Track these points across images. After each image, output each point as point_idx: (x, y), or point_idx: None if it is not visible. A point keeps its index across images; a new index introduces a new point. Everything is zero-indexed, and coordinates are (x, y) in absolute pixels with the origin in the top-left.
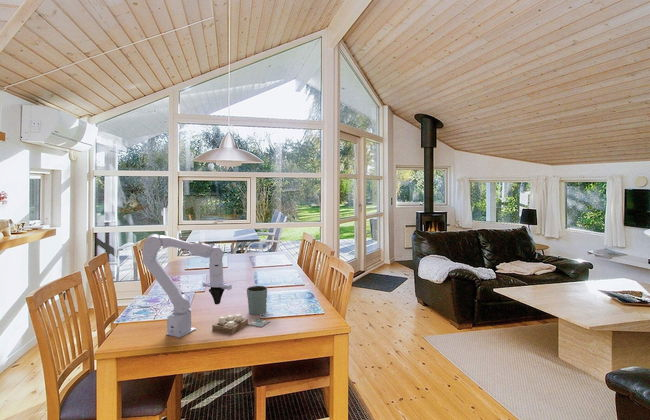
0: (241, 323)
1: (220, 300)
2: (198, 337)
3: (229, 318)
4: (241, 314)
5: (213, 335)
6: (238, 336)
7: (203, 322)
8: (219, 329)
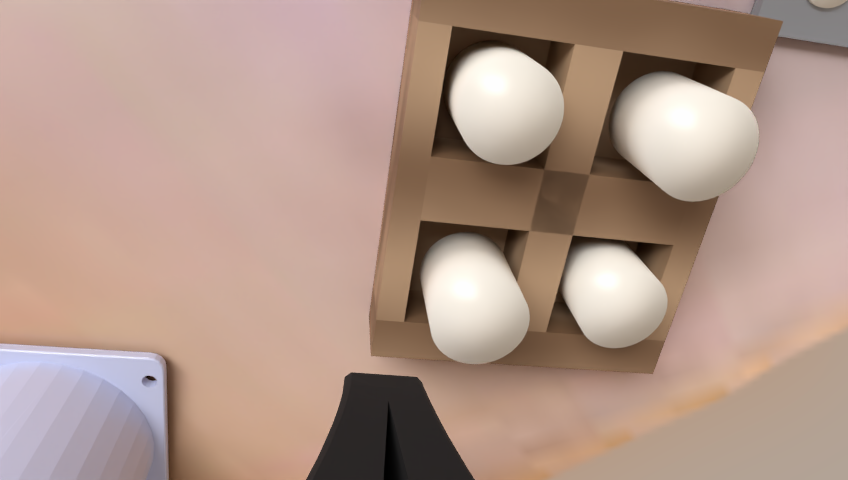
0: None
1: (435, 421)
2: None
3: (521, 154)
4: (747, 115)
5: (453, 403)
6: (716, 349)
7: (66, 135)
8: None
